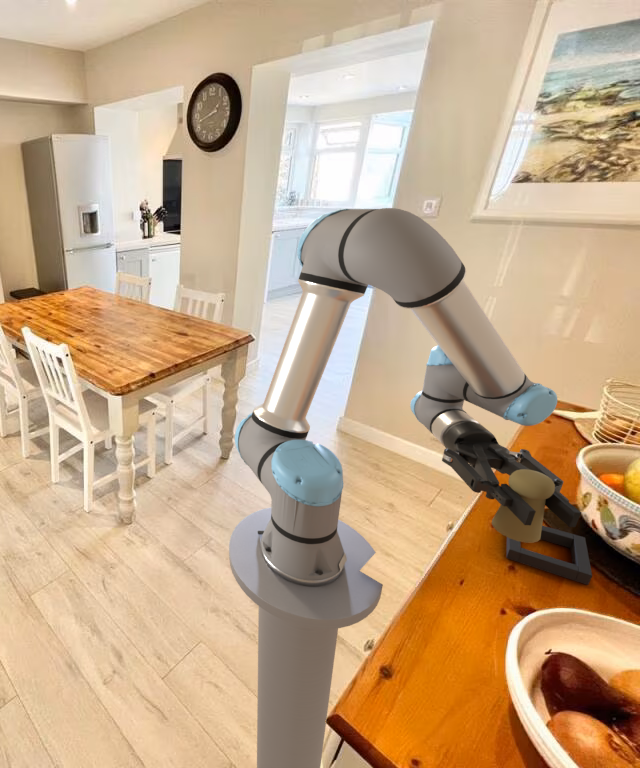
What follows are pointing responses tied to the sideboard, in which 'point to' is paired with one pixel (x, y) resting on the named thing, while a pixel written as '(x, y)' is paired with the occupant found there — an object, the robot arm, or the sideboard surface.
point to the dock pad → (573, 571)
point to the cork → (533, 492)
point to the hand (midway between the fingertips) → (552, 518)
